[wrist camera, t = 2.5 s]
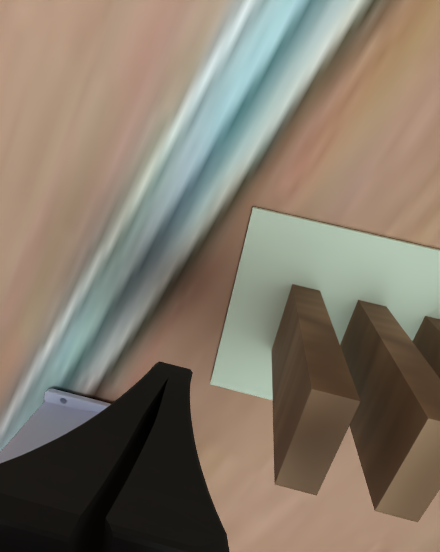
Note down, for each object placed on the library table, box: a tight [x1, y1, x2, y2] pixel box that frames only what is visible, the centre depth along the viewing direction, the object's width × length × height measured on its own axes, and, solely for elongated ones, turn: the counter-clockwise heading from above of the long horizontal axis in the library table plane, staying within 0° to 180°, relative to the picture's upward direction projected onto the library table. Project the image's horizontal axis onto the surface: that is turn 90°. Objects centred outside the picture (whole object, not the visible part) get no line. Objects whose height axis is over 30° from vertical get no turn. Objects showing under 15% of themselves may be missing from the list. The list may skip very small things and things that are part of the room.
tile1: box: [271, 284, 360, 495], centre depth 16 cm, size 2×5×9 cm, turn 168°
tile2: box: [340, 300, 440, 522], centre depth 16 cm, size 2×5×9 cm, turn 168°
